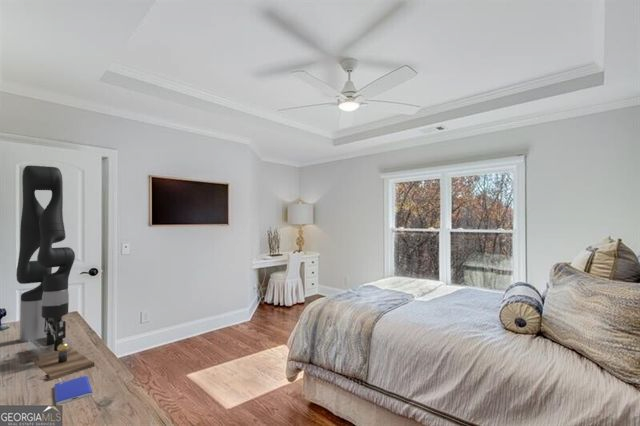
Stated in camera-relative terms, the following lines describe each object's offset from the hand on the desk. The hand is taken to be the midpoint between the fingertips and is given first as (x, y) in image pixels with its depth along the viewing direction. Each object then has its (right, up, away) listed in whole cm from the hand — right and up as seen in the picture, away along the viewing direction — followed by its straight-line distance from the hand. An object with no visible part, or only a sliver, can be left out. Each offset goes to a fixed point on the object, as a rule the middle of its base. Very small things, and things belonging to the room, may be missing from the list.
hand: (54, 347), depth 115 cm
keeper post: (+7, -3, -4) cm, 8 cm away
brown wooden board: (+2, -4, -1) cm, 5 cm away
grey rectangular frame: (-5, -3, +4) cm, 7 cm away
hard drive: (+23, -5, -21) cm, 31 cm away
